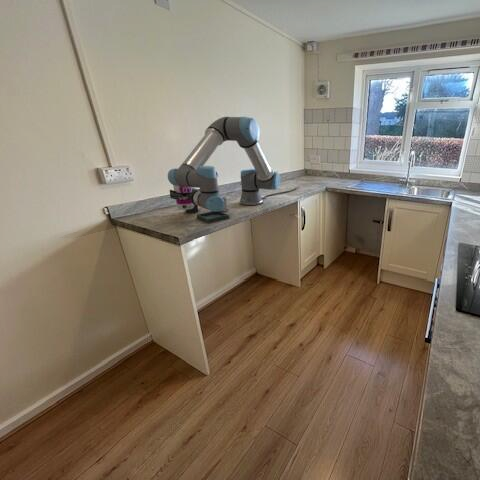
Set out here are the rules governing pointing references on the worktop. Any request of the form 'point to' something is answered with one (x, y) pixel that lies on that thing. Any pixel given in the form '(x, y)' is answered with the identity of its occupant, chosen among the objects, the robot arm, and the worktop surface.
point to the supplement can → (185, 203)
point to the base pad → (212, 216)
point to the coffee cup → (194, 206)
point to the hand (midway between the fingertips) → (179, 191)
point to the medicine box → (224, 204)
